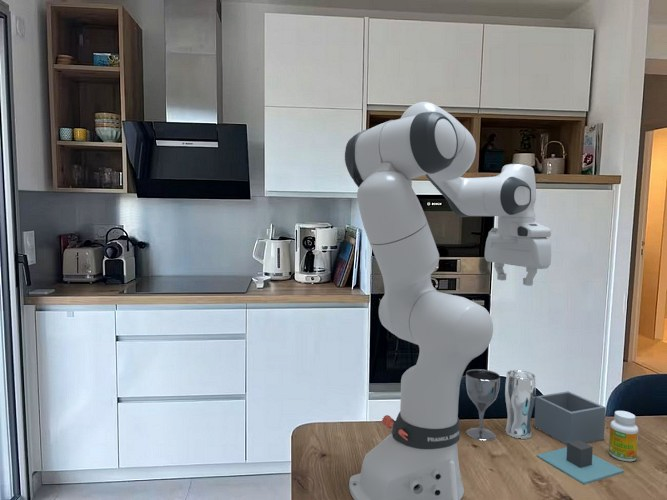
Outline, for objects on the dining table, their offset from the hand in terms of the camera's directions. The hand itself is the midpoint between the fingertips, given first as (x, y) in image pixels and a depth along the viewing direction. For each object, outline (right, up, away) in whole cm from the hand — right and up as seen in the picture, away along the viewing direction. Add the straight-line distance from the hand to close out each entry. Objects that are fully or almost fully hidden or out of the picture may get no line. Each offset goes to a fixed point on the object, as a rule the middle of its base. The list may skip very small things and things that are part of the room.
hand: (514, 282), depth 121 cm
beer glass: (-1, -37, -5) cm, 38 cm away
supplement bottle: (+19, -38, -15) cm, 45 cm away
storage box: (+12, -37, -4) cm, 39 cm away
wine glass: (-10, -37, -5) cm, 39 cm away
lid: (+7, -39, -19) cm, 44 cm away
